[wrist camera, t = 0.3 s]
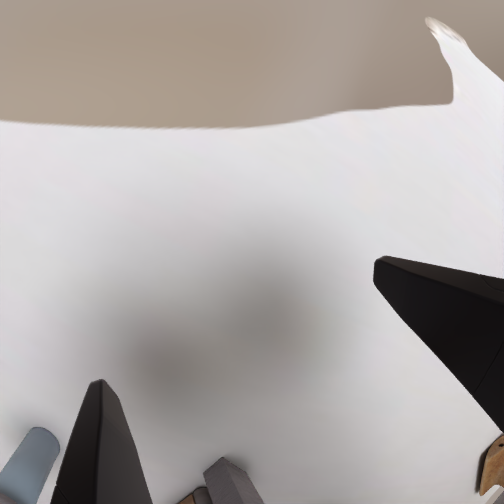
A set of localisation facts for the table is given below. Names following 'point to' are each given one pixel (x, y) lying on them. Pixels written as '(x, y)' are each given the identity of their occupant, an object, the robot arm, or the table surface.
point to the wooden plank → (198, 497)
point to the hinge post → (230, 484)
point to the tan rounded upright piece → (493, 467)
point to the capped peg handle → (28, 468)
